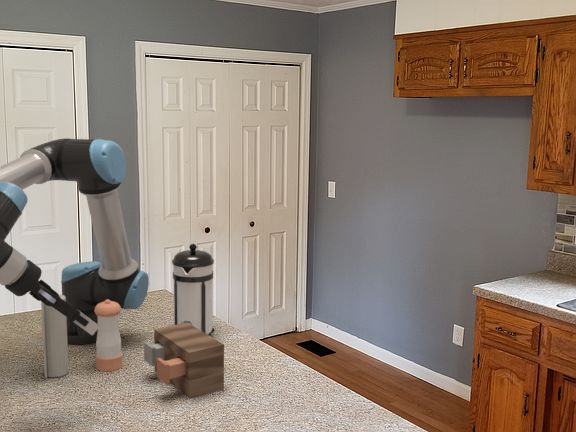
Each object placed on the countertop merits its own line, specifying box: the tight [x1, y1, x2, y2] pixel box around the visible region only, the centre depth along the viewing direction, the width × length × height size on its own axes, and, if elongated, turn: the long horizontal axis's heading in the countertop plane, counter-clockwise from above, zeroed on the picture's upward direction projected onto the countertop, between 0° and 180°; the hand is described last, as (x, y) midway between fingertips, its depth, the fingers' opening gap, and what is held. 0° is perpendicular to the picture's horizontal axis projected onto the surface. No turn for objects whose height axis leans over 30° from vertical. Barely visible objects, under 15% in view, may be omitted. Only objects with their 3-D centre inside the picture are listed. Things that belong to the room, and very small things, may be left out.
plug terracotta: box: [156, 357, 186, 385], centre depth 160 cm, size 5×14×5 cm, turn 127°
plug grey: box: [143, 341, 165, 367], centre depth 170 cm, size 5×14×5 cm, turn 127°
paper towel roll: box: [40, 294, 69, 381], centre depth 168 cm, size 7×6×21 cm
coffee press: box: [171, 243, 215, 335], centre depth 198 cm, size 17×16×30 cm
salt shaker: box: [94, 299, 124, 372], centre depth 174 cm, size 7×7×19 cm
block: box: [153, 323, 225, 399], centre depth 167 cm, size 20×10×12 cm, turn 37°
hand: (95, 329), depth 148 cm, fingers closed
